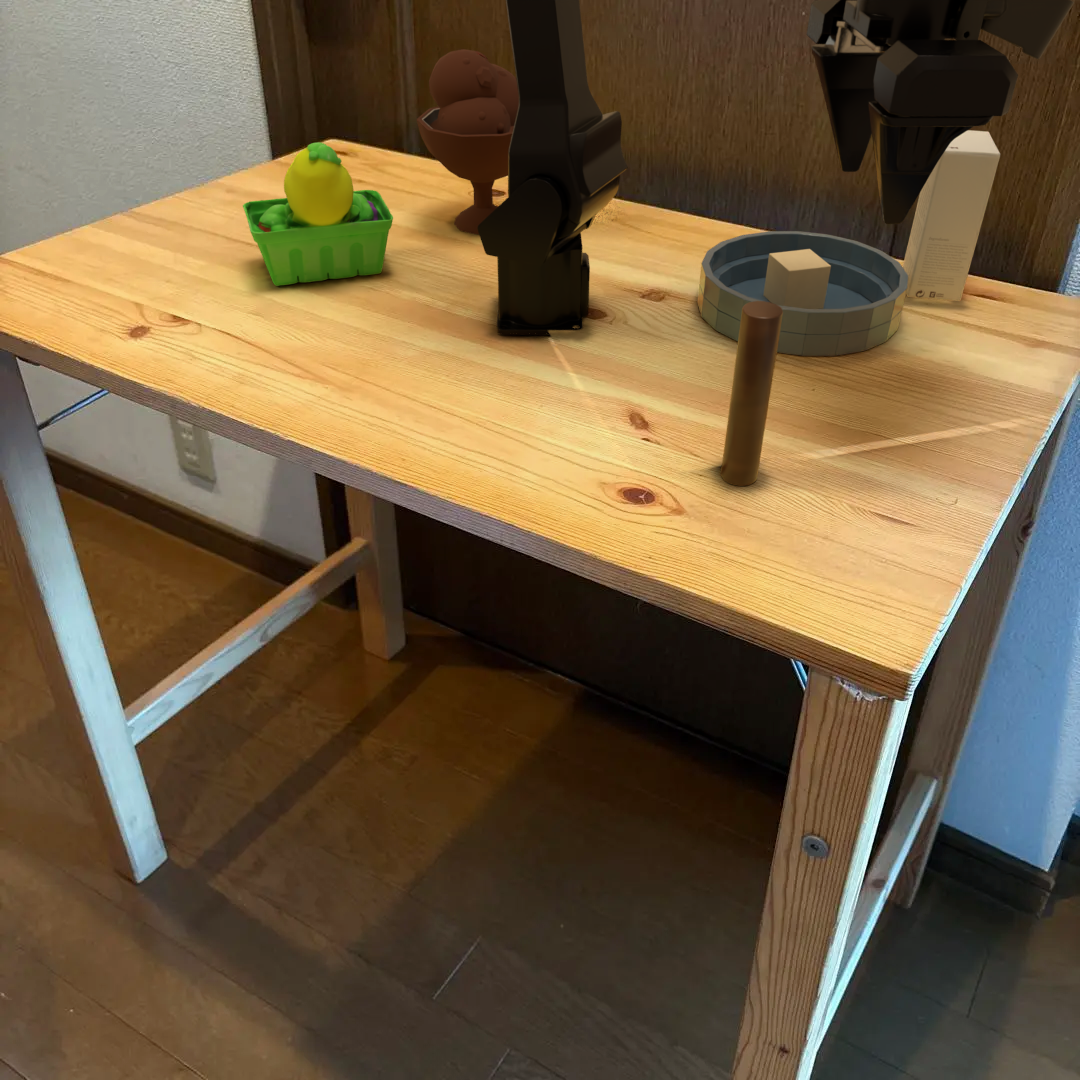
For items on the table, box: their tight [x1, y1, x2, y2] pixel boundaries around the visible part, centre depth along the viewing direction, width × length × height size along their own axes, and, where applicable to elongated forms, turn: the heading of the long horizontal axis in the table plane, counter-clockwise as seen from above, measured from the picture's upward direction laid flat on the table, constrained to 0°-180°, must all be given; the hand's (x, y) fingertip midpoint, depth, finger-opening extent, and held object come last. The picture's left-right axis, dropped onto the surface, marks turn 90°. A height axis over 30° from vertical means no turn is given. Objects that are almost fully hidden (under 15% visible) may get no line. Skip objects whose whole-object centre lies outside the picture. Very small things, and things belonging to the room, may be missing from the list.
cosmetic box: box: [902, 129, 1001, 302], centre depth 81 cm, size 6×4×12 cm
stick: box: [720, 301, 783, 487], centre depth 60 cm, size 2×2×11 cm
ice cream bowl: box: [416, 48, 519, 235], centre depth 92 cm, size 11×11×15 cm
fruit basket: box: [242, 142, 394, 287], centre depth 84 cm, size 11×9×11 cm
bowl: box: [696, 230, 908, 357], centre depth 80 cm, size 15×15×4 cm
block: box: [763, 249, 831, 309], centre depth 80 cm, size 4×4×4 cm
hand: (869, 195), depth 64 cm, fingers open, 9 cm apart
